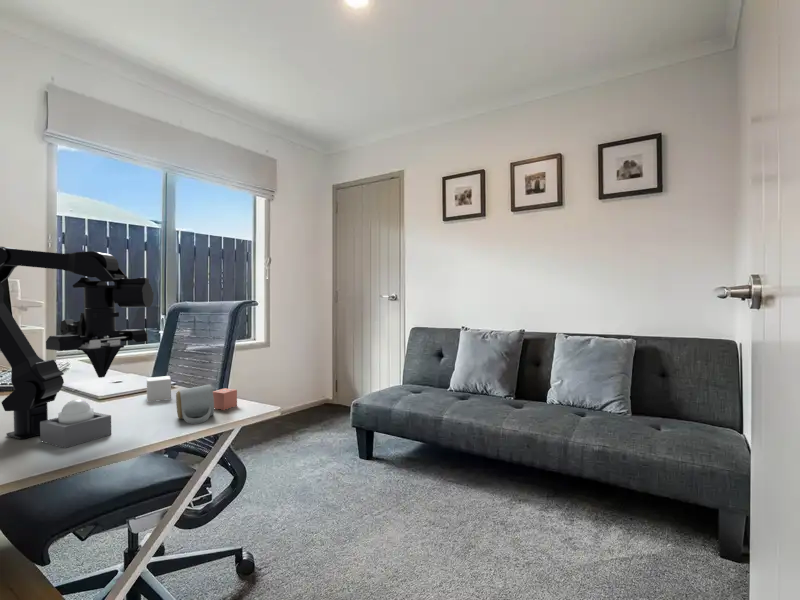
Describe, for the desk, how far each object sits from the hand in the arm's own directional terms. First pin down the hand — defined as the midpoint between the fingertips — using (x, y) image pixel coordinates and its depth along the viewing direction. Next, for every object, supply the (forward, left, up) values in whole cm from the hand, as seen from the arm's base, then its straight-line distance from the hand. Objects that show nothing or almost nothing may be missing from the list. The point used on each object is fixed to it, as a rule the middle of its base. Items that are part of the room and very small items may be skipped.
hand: (101, 377), depth 97 cm
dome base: (0, -6, -12) cm, 13 cm away
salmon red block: (+10, +25, -12) cm, 30 cm away
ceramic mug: (+12, +16, -12) cm, 23 cm away
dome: (0, -6, -9) cm, 10 cm away
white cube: (-16, +25, -12) cm, 32 cm away
